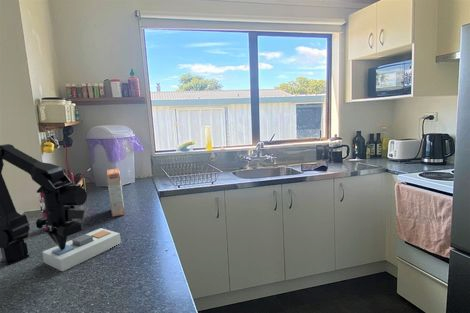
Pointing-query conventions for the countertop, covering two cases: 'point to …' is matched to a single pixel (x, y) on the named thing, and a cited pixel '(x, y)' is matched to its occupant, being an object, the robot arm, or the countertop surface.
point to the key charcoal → (82, 240)
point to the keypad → (81, 251)
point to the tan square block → (100, 234)
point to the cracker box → (115, 192)
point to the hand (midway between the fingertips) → (62, 249)
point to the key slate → (60, 252)
